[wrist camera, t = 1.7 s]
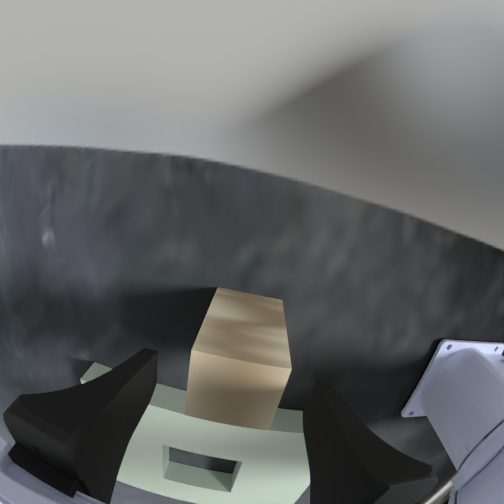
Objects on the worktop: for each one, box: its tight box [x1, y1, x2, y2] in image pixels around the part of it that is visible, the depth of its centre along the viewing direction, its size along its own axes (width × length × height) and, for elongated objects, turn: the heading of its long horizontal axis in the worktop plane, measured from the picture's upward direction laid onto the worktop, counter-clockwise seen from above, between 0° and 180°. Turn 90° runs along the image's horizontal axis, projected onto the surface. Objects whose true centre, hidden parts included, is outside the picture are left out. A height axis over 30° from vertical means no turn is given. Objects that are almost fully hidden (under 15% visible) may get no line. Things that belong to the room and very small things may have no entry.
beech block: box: [184, 287, 292, 431], centre depth 15 cm, size 4×4×7 cm
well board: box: [80, 362, 310, 504], centre depth 20 cm, size 20×16×2 cm
